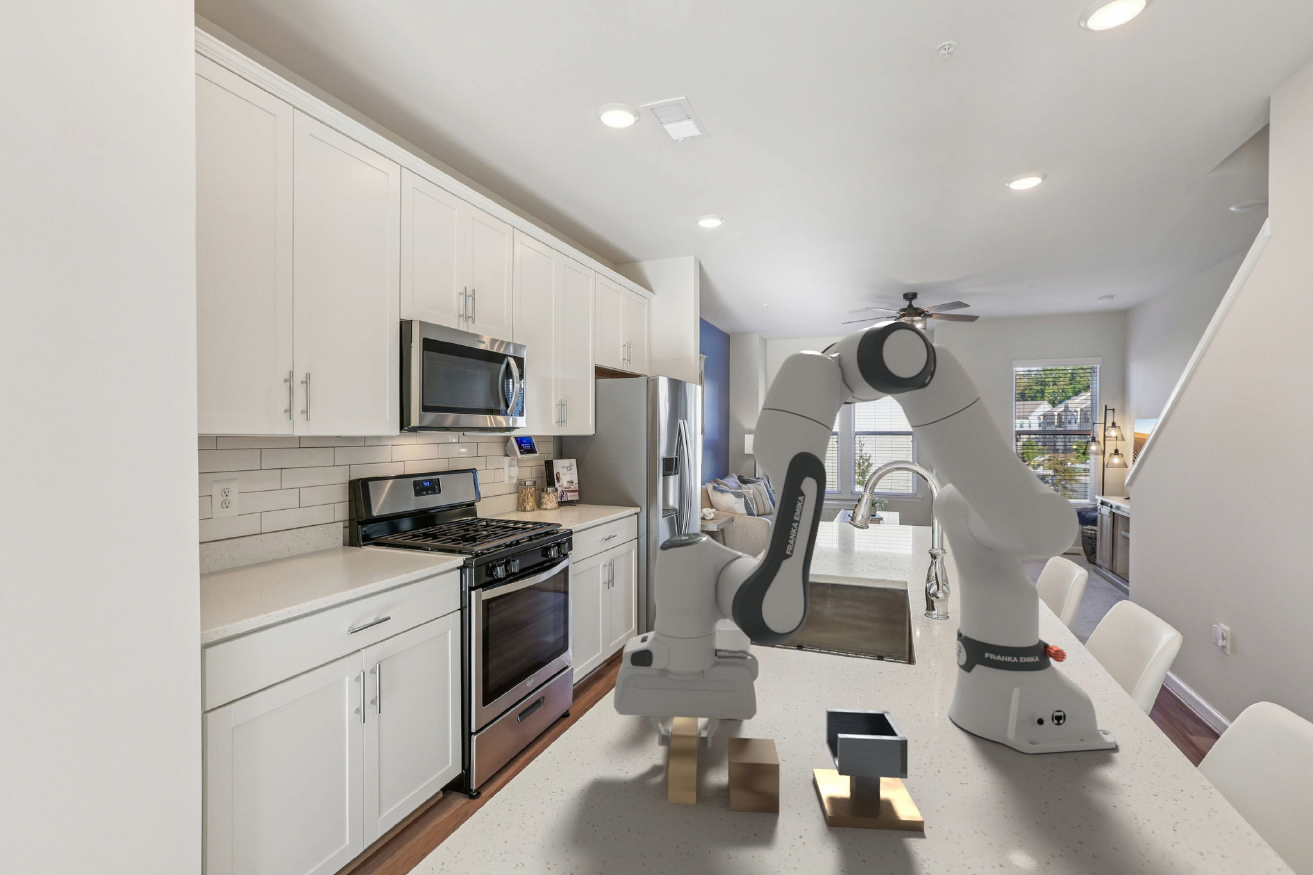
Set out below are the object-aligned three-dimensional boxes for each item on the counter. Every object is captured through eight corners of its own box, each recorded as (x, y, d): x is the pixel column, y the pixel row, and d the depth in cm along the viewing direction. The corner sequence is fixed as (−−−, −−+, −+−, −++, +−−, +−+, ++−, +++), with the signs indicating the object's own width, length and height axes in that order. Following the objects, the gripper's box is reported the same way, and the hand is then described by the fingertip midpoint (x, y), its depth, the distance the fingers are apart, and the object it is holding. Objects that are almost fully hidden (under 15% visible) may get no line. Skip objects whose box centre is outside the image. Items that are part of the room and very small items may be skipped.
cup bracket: (896, 781, 80) (896, 707, 80) (924, 830, 70) (924, 745, 70) (813, 777, 81) (813, 703, 81) (828, 825, 71) (828, 741, 71)
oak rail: (675, 727, 95) (675, 699, 95) (697, 728, 95) (697, 699, 95) (668, 804, 75) (668, 769, 75) (696, 806, 75) (696, 770, 75)
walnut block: (773, 784, 79) (773, 739, 79) (779, 812, 73) (779, 764, 73) (728, 781, 80) (728, 737, 79) (730, 810, 74) (730, 761, 74)
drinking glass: (749, 724, 95) (749, 631, 95) (707, 720, 97) (707, 628, 97) (751, 705, 102) (751, 618, 102) (711, 702, 103) (711, 616, 103)
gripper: (756, 642, 87) (756, 736, 87) (618, 638, 89) (618, 731, 89) (760, 658, 81) (760, 760, 81) (611, 654, 83) (611, 753, 83)
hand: (684, 744), depth 85 cm, fingers open, 5 cm apart
